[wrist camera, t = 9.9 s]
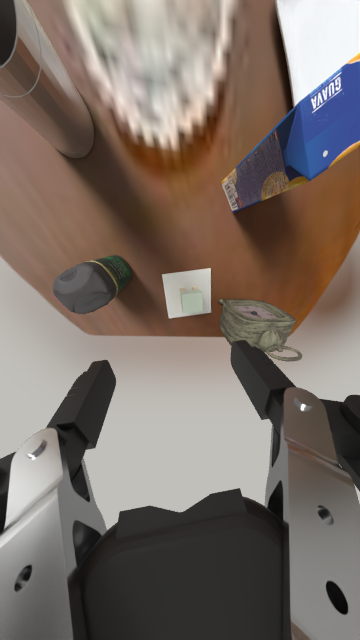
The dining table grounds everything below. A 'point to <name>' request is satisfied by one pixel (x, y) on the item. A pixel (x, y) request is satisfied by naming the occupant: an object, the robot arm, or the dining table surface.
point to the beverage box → (301, 141)
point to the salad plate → (317, 40)
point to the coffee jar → (91, 284)
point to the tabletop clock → (257, 325)
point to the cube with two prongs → (191, 300)
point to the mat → (187, 282)
